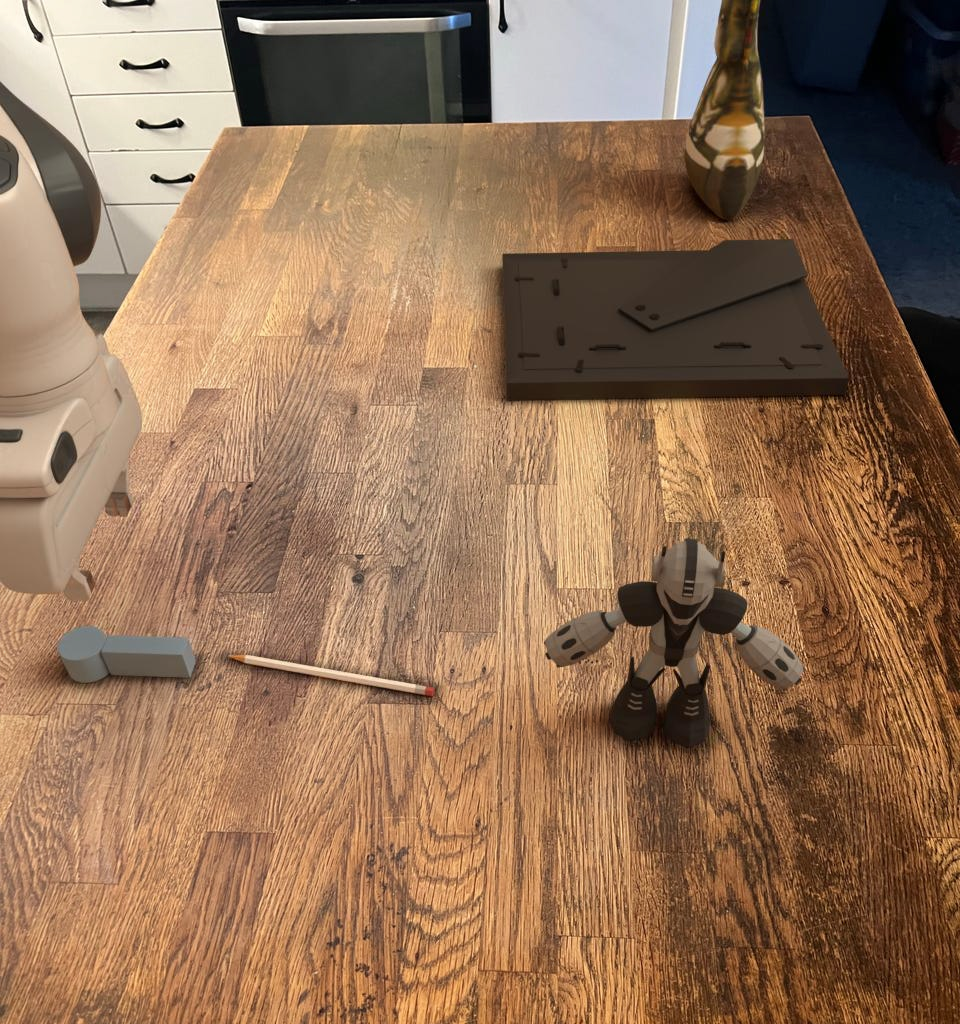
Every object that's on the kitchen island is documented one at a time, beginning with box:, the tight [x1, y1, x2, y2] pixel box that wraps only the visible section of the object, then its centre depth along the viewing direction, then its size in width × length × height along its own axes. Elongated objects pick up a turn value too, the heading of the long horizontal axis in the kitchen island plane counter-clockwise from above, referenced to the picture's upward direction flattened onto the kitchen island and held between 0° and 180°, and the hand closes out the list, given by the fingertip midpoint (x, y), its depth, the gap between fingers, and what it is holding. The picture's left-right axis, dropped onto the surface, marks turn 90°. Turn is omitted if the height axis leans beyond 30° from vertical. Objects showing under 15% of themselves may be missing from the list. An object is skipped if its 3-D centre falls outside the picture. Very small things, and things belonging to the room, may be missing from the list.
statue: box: [684, 0, 766, 221], centre depth 135 cm, size 16×11×35 cm, turn 3°
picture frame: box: [501, 238, 850, 401], centre depth 122 cm, size 31×4×38 cm
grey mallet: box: [56, 625, 197, 684], centre depth 85 cm, size 11×4×3 cm, turn 87°
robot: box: [543, 537, 804, 749], centre depth 74 cm, size 20×5×20 cm, turn 81°
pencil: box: [228, 654, 435, 697], centre depth 85 cm, size 1×19×1 cm, turn 76°
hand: (102, 550), depth 76 cm, fingers open, 8 cm apart
